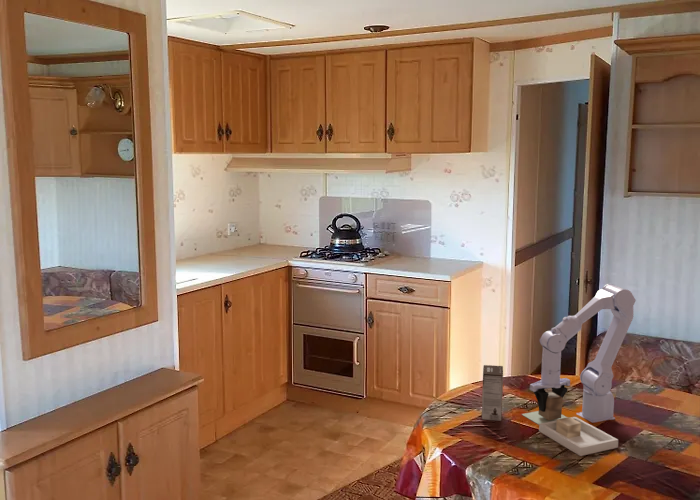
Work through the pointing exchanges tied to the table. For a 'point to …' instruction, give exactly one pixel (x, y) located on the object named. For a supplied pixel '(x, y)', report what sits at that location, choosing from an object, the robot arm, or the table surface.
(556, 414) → the labelled box
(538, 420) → the tile
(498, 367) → the coffee box
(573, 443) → the bin
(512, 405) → the table surface
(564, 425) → the plain box
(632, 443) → the table surface
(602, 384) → the robot arm
